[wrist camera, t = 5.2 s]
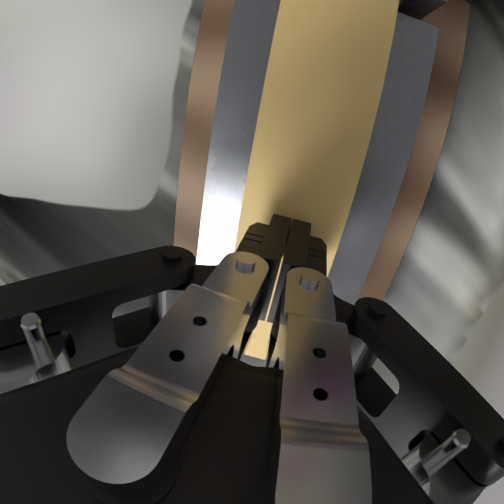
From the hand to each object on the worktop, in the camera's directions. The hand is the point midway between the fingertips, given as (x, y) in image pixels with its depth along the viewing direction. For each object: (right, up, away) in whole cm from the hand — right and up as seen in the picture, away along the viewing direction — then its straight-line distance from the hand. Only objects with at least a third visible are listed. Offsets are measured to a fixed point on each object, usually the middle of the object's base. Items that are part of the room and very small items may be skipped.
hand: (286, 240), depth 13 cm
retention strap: (+1, +3, 0) cm, 3 cm away
